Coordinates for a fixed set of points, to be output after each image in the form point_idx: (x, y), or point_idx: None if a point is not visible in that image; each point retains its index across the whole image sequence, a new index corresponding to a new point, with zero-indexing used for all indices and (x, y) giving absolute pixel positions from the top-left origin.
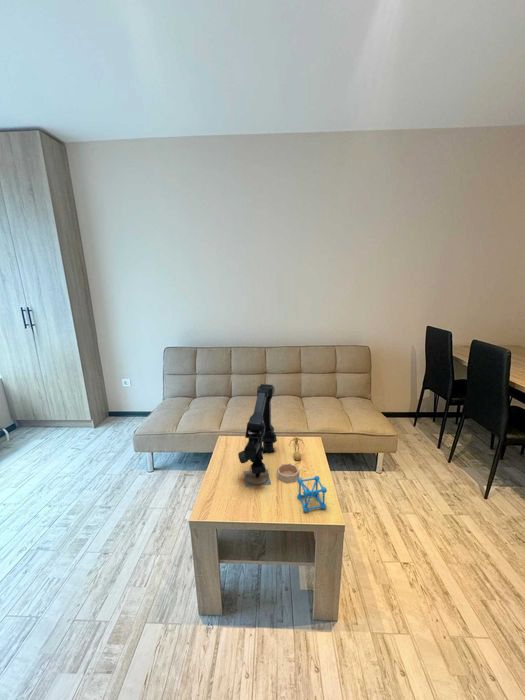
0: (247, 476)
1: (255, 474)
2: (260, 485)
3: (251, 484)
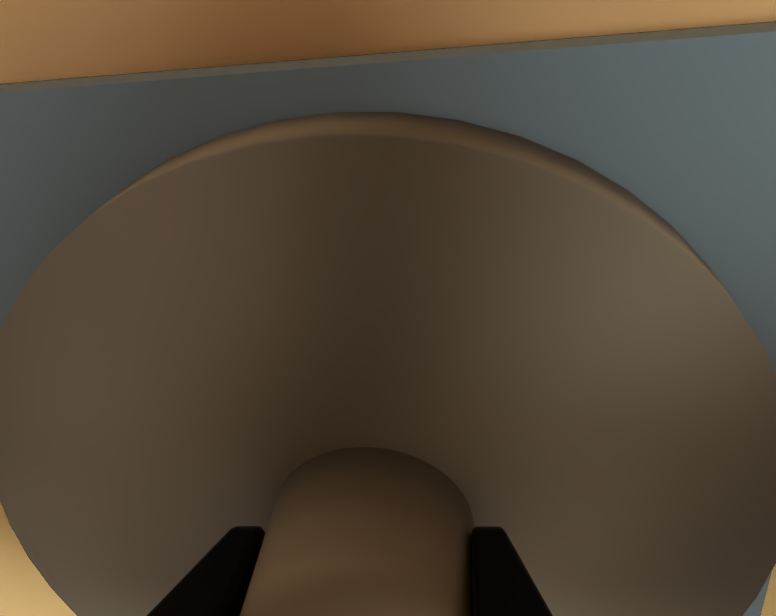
0: (349, 222)
1: (254, 579)
2: None
3: None
